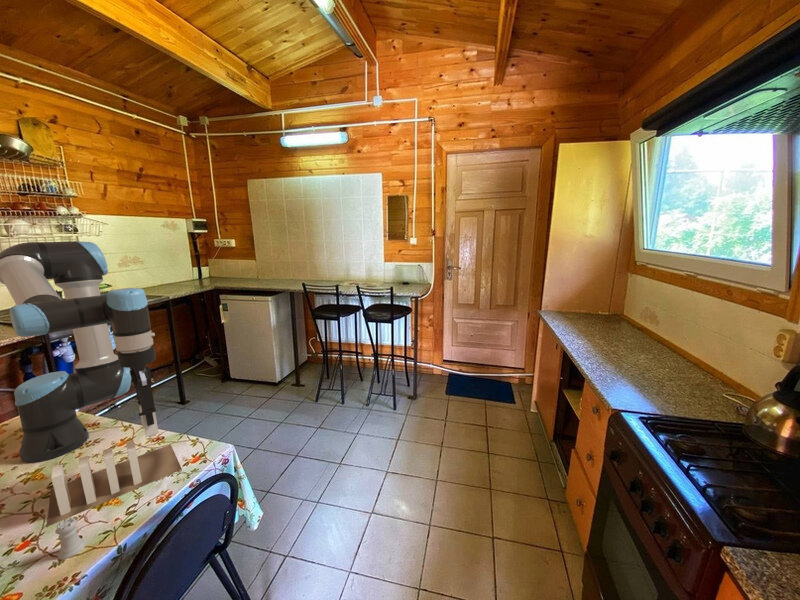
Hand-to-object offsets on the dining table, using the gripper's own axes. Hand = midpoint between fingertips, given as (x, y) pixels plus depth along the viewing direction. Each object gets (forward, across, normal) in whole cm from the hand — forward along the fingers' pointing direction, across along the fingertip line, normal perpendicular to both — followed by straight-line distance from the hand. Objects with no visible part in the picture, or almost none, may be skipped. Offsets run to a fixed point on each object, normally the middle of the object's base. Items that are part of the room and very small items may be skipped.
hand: (150, 430), depth 88 cm
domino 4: (+12, 0, +4) cm, 13 cm away
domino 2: (+12, 0, +14) cm, 18 cm away
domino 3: (+12, 0, +9) cm, 15 cm away
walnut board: (+14, +4, +8) cm, 16 cm away
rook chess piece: (+14, -16, +17) cm, 27 cm away
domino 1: (+12, 0, +18) cm, 22 cm away
